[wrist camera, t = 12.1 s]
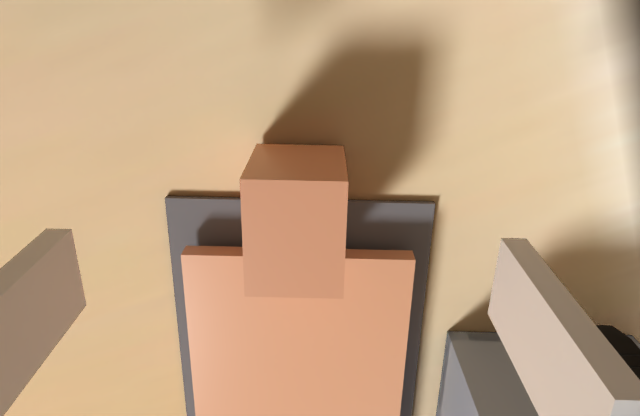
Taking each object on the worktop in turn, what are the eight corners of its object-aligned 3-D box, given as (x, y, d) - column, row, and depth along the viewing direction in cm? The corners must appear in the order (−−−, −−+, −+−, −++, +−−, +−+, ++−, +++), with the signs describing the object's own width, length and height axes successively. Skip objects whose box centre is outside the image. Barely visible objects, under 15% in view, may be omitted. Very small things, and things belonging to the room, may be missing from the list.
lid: (180, 141, 23) (144, 177, 19) (419, 147, 23) (443, 183, 19) (205, 438, 30) (183, 519, 25) (391, 442, 30) (403, 524, 25)
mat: (166, 196, 25) (164, 198, 24) (433, 201, 25) (435, 203, 24) (192, 456, 31) (191, 460, 31) (405, 460, 31) (406, 465, 31)
